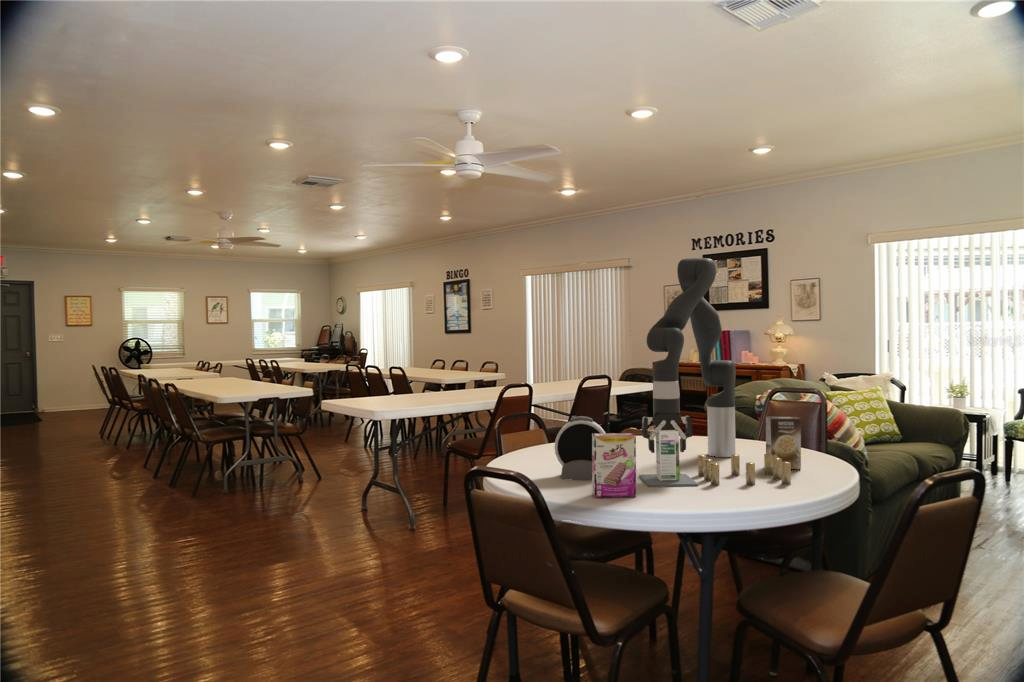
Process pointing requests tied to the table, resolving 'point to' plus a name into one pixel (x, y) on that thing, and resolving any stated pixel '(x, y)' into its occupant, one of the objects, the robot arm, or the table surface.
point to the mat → (654, 481)
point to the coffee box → (784, 439)
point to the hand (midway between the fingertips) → (667, 452)
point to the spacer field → (770, 467)
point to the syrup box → (667, 455)
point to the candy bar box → (614, 465)
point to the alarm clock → (576, 447)
